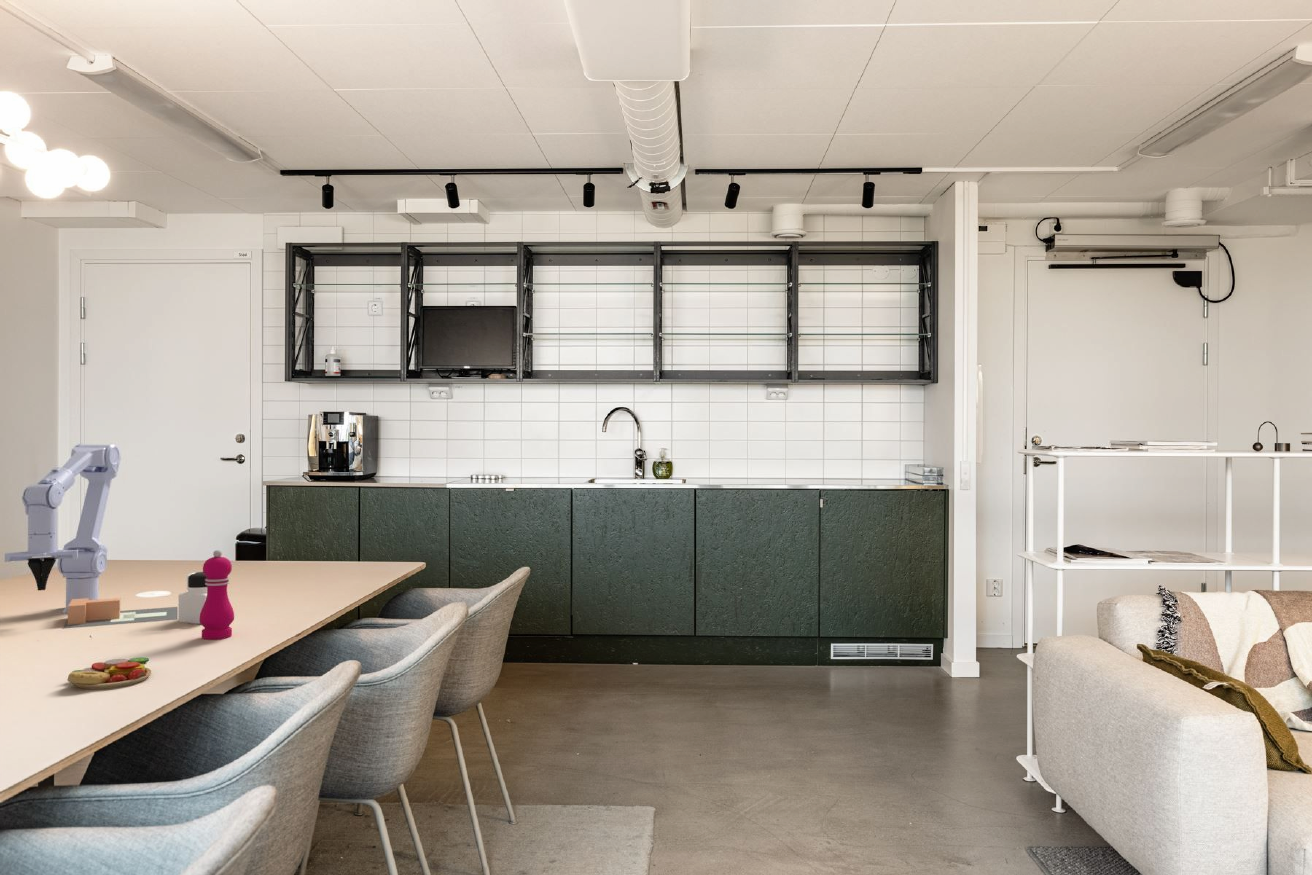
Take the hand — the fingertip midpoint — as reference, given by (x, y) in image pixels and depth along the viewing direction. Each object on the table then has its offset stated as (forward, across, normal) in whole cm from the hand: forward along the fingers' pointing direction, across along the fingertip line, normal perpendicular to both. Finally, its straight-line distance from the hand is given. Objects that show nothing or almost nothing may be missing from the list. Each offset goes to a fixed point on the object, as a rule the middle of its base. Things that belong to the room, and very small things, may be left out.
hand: (41, 589), depth 216 cm
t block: (+8, +11, 0) cm, 14 cm away
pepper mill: (+9, +37, -32) cm, 50 cm away
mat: (+8, +17, 0) cm, 19 cm away
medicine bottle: (+9, +34, -11) cm, 37 cm away
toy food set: (+9, +18, -63) cm, 66 cm away
